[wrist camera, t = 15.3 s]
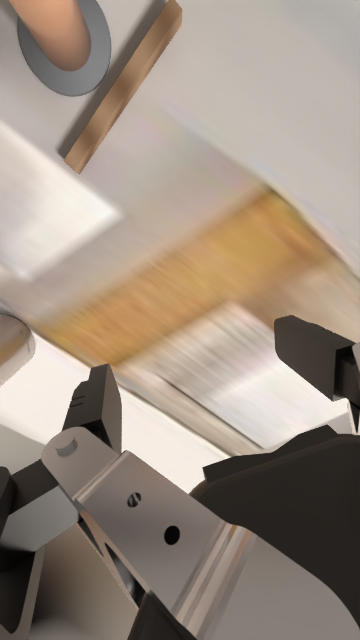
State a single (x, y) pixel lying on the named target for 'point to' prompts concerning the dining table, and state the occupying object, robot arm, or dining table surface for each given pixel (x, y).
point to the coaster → (83, 77)
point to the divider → (126, 85)
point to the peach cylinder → (57, 30)
